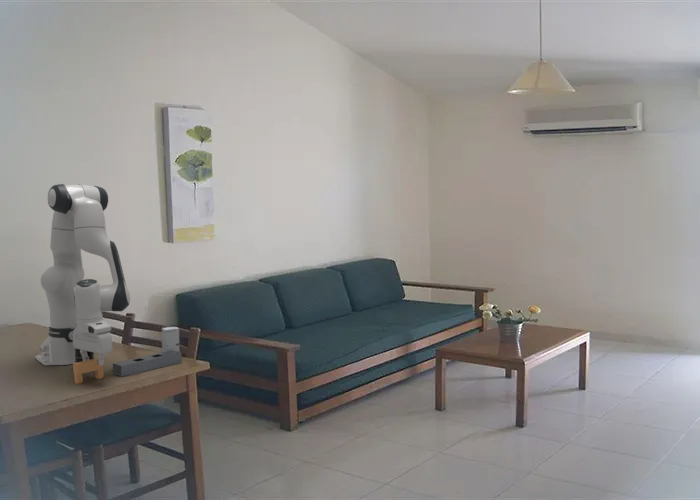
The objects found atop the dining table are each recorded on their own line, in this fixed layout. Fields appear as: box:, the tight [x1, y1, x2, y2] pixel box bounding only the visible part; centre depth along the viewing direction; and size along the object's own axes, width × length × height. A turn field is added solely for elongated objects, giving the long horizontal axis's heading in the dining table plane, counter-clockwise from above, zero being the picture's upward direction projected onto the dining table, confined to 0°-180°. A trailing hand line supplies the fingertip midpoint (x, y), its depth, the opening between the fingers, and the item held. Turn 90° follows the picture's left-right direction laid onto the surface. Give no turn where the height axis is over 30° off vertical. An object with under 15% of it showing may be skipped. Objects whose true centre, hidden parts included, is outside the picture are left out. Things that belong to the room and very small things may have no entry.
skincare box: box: [161, 326, 180, 353], centre depth 287 cm, size 6×4×12 cm
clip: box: [72, 357, 105, 385], centre depth 256 cm, size 3×10×7 cm, turn 138°
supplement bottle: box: [75, 348, 95, 363], centre depth 274 cm, size 7×7×12 cm
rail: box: [112, 350, 183, 378], centre depth 272 cm, size 6×26×4 cm, turn 138°
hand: (93, 363), depth 256 cm, fingers open, 8 cm apart
